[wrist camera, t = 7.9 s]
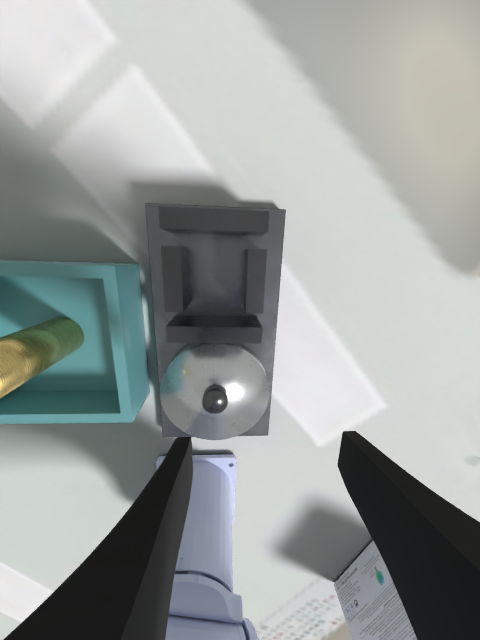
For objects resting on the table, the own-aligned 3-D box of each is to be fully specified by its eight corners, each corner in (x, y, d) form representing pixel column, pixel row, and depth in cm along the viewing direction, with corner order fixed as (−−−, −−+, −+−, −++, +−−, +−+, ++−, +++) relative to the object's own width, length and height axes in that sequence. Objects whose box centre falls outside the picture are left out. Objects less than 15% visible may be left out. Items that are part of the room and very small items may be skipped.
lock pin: (85, 353, 19) (-13, 421, 11) (47, 351, 18) (-82, 419, 11) (82, 318, 18) (-28, 365, 10) (41, 315, 18) (-101, 361, 10)
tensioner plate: (266, 427, 23) (274, 462, 19) (165, 429, 22) (152, 465, 18) (282, 212, 18) (298, 199, 14) (150, 206, 17) (127, 191, 13)
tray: (149, 392, 21) (132, 422, 17) (17, 392, 20) (-31, 424, 17) (138, 263, 18) (114, 266, 14) (-18, 259, 17) (-88, 260, 13)
